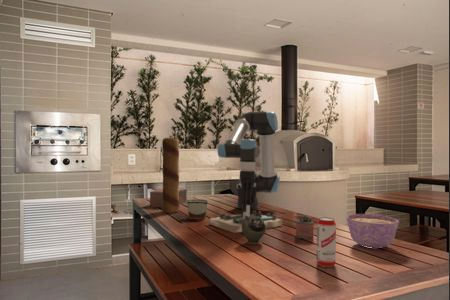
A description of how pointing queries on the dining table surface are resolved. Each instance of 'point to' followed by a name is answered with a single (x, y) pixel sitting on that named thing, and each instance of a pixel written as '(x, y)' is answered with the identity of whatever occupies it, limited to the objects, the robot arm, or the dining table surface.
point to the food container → (197, 208)
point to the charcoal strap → (240, 215)
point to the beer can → (326, 242)
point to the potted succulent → (304, 227)
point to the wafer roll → (170, 175)
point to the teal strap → (261, 218)
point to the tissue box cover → (157, 197)
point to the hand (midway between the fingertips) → (246, 218)
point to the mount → (236, 226)
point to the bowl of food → (372, 229)
